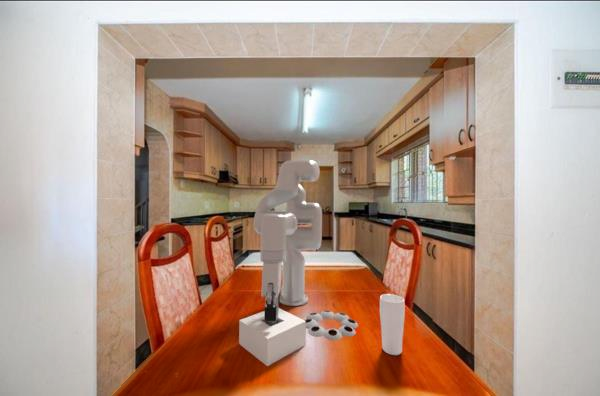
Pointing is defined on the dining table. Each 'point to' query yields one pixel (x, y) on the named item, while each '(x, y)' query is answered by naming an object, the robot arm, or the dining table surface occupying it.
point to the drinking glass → (392, 322)
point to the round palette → (340, 332)
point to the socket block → (272, 336)
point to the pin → (276, 315)
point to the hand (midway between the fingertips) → (272, 312)
